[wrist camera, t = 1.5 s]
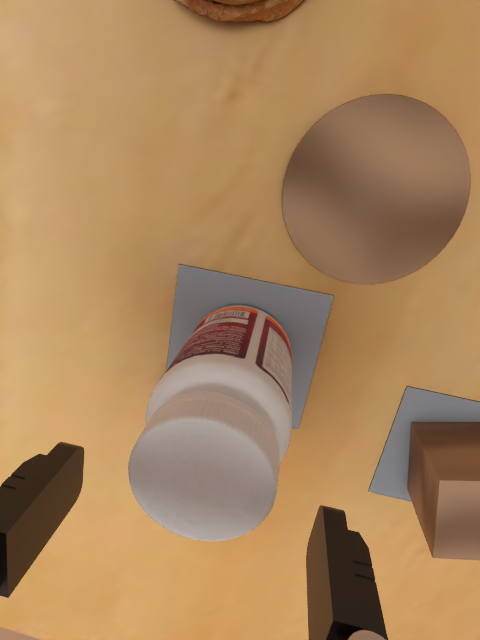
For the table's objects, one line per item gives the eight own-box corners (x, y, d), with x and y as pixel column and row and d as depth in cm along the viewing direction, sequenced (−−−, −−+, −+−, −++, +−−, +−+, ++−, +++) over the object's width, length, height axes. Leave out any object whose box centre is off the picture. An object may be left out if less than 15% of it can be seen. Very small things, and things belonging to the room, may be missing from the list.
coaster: (304, 82, 19) (304, 79, 18) (495, 114, 18) (501, 111, 18) (267, 264, 22) (266, 266, 21) (429, 296, 21) (433, 299, 21)
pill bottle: (175, 365, 25) (84, 501, 14) (221, 283, 22) (154, 369, 12) (260, 412, 25) (234, 580, 14) (312, 335, 23) (328, 466, 12)
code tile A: (179, 264, 23) (178, 264, 22) (333, 295, 22) (334, 296, 22) (162, 397, 26) (162, 398, 25) (298, 428, 25) (298, 429, 25)
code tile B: (406, 386, 23) (407, 387, 23) (545, 416, 23) (546, 417, 22) (368, 490, 26) (368, 492, 26) (491, 519, 25) (492, 521, 25)
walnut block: (411, 422, 24) (439, 480, 19) (500, 422, 23) (553, 482, 18) (407, 488, 25) (432, 558, 21) (491, 491, 24) (537, 563, 20)
